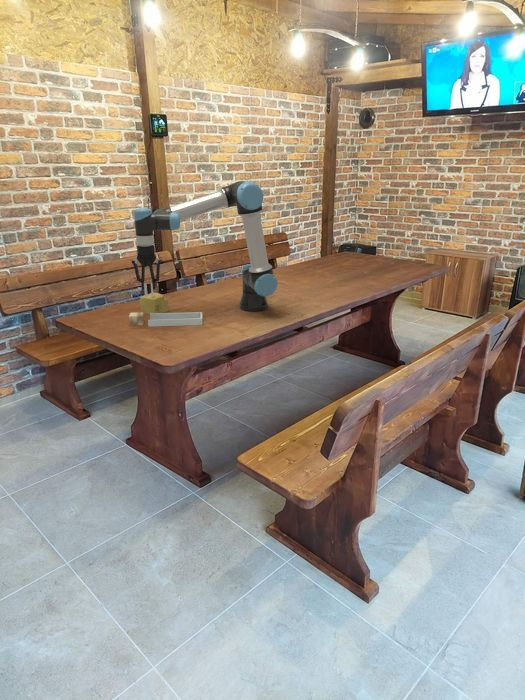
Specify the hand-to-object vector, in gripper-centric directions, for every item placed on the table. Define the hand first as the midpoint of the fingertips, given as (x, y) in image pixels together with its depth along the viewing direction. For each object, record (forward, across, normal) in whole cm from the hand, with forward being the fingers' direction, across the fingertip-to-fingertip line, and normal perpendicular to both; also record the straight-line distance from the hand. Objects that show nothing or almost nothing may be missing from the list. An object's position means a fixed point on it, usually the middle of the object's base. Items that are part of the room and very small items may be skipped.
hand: (149, 296), depth 226 cm
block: (+11, +4, 0) cm, 12 cm away
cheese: (+15, 0, -18) cm, 23 cm away
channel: (+14, -11, 0) cm, 18 cm away
